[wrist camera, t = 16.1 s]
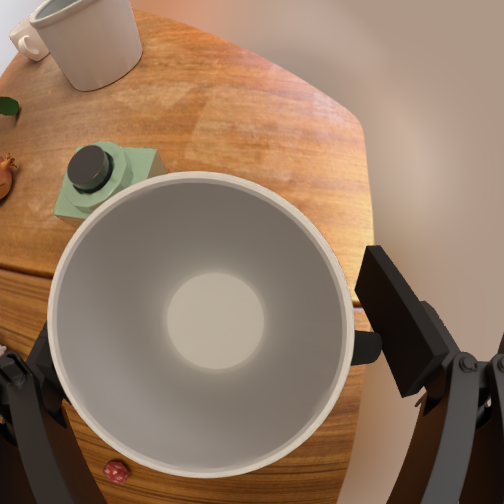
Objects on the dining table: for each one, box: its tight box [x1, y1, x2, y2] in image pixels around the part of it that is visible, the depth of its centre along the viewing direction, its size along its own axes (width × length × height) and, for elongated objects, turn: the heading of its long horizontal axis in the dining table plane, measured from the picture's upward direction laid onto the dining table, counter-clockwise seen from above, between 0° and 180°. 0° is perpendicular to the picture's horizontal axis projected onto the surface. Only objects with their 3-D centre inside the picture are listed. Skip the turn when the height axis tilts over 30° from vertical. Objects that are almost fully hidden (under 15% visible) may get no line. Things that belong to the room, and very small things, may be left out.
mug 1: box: [9, 15, 49, 61], centre depth 31 cm, size 12×8×11 cm
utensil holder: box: [29, 0, 142, 91], centre depth 26 cm, size 15×15×18 cm
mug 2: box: [47, 171, 382, 478], centre depth 12 cm, size 12×9×10 cm
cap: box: [67, 145, 113, 193], centre depth 22 cm, size 4×4×2 cm
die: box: [103, 462, 130, 483], centre depth 22 cm, size 3×3×3 cm
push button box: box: [53, 141, 168, 229], centre depth 26 cm, size 10×8×8 cm
